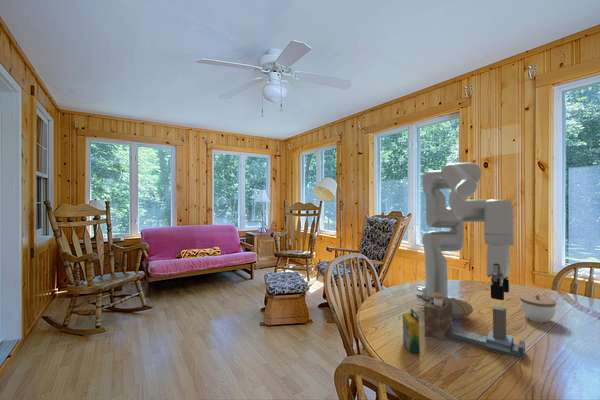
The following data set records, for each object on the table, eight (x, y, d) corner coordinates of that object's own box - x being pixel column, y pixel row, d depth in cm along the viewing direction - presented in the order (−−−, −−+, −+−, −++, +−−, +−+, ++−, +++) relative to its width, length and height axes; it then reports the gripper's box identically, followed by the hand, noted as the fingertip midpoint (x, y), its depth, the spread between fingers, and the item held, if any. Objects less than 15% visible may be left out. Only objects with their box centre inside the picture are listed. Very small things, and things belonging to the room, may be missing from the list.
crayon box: (402, 342, 96) (402, 307, 96) (411, 342, 96) (411, 307, 96) (410, 354, 89) (409, 316, 89) (420, 354, 89) (419, 316, 89)
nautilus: (407, 314, 121) (424, 307, 131) (464, 328, 105) (478, 318, 115) (406, 295, 121) (423, 289, 131) (462, 305, 105) (477, 297, 115)
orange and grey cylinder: (432, 314, 103) (431, 294, 103) (435, 311, 106) (434, 292, 106) (441, 316, 101) (441, 296, 101) (444, 313, 103) (444, 293, 103)
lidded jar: (563, 326, 107) (563, 300, 107) (529, 324, 109) (529, 298, 109) (545, 314, 117) (544, 291, 117) (514, 313, 119) (514, 290, 119)
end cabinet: (424, 334, 102) (424, 306, 102) (434, 325, 109) (434, 298, 109) (443, 340, 98) (442, 310, 98) (452, 330, 105) (451, 302, 105)
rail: (445, 337, 99) (445, 327, 99) (449, 332, 103) (449, 322, 103) (523, 359, 85) (523, 348, 85) (525, 352, 89) (525, 341, 89)
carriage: (486, 346, 91) (485, 309, 91) (490, 338, 96) (490, 303, 96) (510, 352, 87) (509, 314, 87) (513, 343, 92) (512, 307, 92)
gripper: (489, 236, 100) (491, 287, 100) (478, 241, 87) (480, 299, 87) (517, 237, 95) (518, 291, 95) (509, 243, 82) (511, 305, 82)
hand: (500, 295), depth 91 cm, fingers open, 9 cm apart
